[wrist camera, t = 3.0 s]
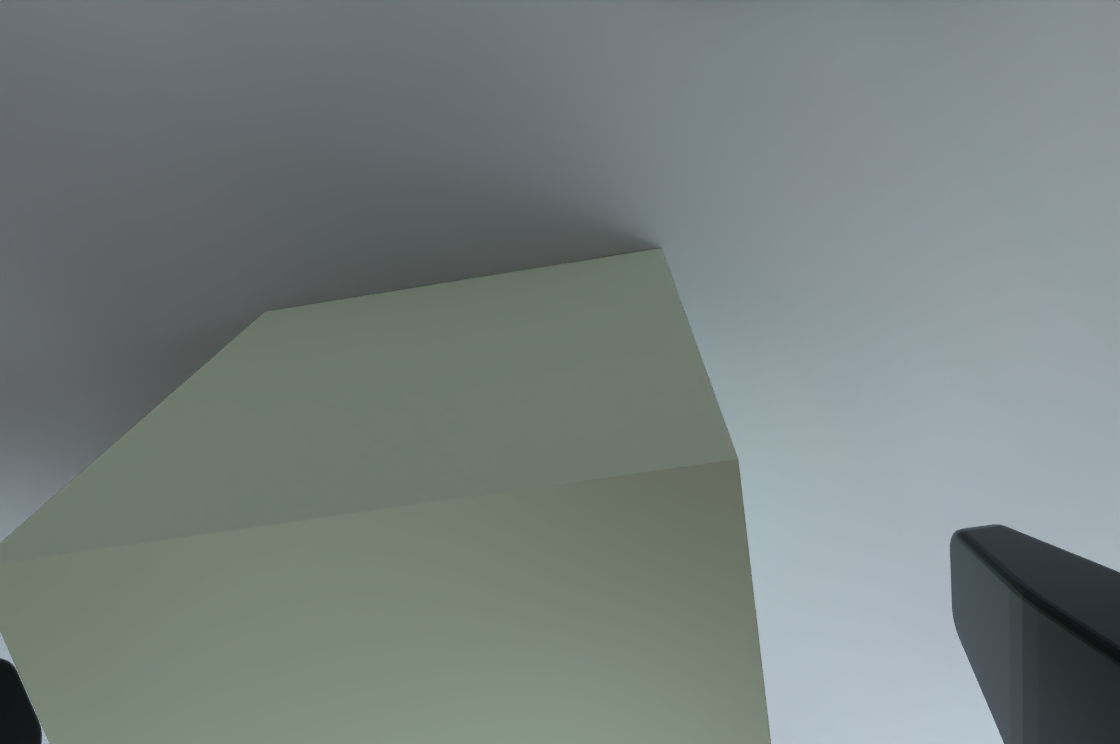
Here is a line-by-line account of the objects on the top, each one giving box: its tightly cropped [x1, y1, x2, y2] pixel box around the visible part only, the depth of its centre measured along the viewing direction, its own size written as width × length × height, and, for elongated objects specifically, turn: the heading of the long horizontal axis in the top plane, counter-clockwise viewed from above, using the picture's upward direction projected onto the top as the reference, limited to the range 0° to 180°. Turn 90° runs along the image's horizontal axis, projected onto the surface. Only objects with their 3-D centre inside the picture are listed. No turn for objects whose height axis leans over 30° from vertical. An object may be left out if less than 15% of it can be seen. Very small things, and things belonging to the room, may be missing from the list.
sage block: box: [0, 248, 771, 744], centre depth 10 cm, size 5×5×6 cm
